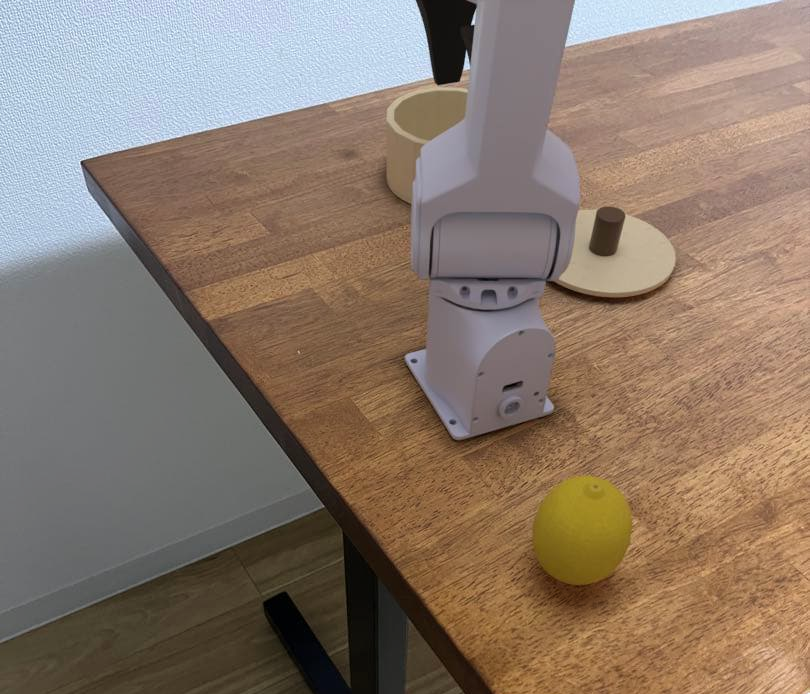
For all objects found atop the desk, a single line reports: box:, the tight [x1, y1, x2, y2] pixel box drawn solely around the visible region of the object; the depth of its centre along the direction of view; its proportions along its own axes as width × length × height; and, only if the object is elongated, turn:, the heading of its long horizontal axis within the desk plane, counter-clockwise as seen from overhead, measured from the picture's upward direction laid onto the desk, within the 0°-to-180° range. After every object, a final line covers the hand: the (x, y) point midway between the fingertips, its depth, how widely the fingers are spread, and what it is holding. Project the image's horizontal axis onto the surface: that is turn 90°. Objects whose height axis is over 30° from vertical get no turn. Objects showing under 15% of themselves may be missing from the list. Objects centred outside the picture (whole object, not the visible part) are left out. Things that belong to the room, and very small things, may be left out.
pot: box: [386, 86, 468, 205], centre depth 75 cm, size 11×11×6 cm
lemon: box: [531, 475, 633, 586], centre depth 47 cm, size 6×6×8 cm
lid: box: [553, 206, 677, 298], centre depth 68 cm, size 12×12×4 cm
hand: (466, 102), depth 65 cm, fingers open, 7 cm apart
